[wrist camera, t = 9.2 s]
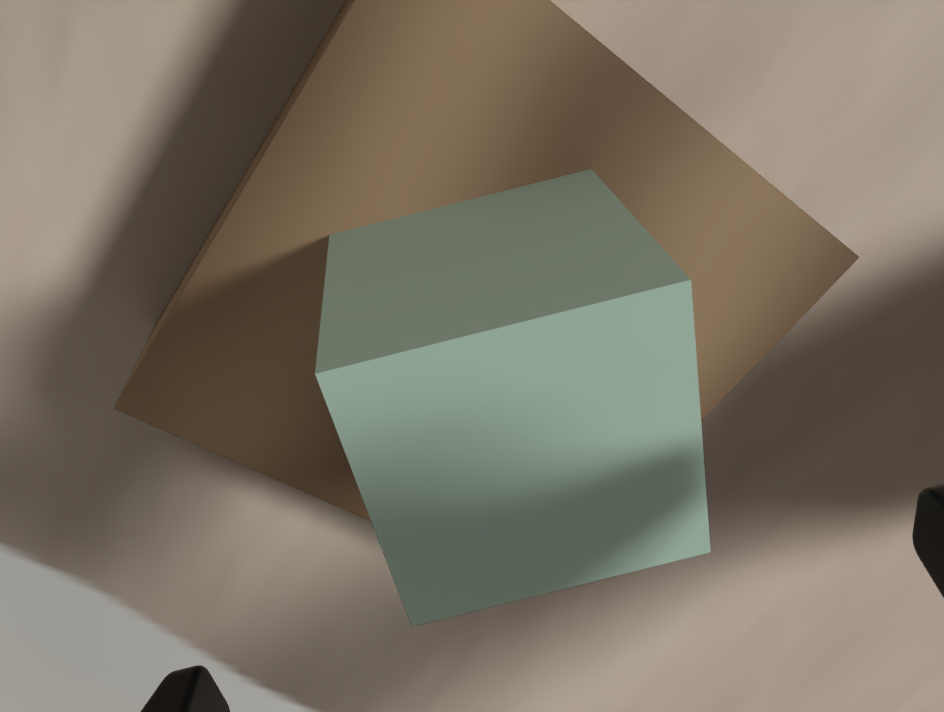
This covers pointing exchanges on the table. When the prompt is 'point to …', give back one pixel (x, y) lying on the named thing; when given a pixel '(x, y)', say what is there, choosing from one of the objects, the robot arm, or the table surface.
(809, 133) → the table surface
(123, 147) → the table surface
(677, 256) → the walnut block
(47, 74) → the table surface
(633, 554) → the sage block
